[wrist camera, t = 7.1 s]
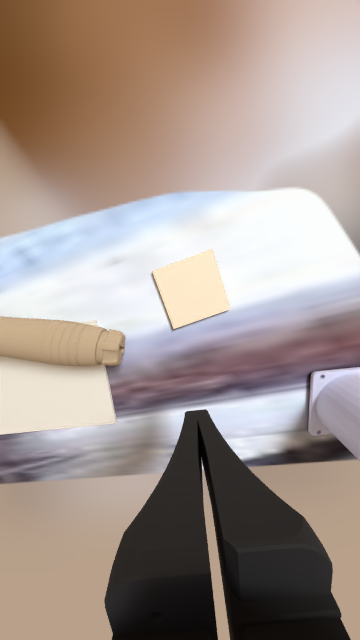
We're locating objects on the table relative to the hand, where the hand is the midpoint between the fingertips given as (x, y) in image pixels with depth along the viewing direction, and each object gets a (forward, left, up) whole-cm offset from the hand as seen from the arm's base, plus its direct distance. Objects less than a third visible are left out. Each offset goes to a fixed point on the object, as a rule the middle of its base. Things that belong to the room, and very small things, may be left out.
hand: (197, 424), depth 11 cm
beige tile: (-1, -8, -9) cm, 12 cm away
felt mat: (+19, 0, -8) cm, 21 cm away
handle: (+6, -3, -6) cm, 9 cm away
